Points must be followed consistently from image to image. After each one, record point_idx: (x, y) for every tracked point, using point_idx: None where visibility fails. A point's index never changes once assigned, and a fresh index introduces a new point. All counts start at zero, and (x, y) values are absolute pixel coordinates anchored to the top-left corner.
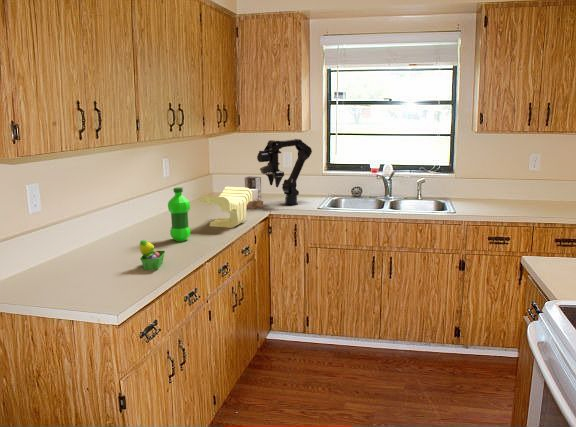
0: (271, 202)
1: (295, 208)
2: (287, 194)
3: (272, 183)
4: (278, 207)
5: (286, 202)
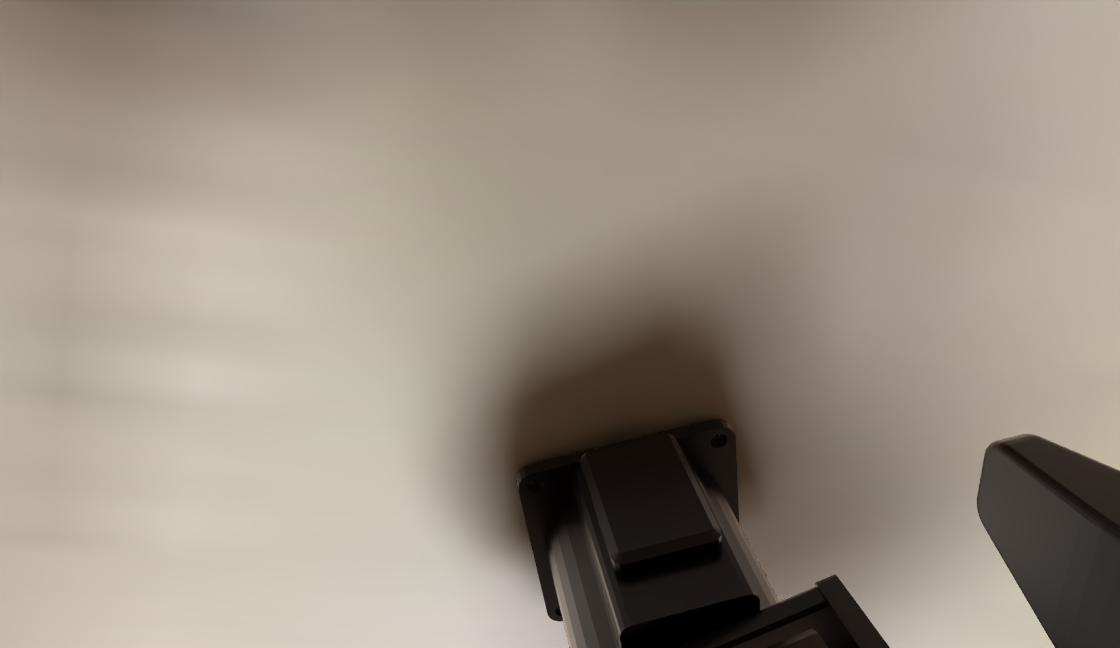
0: (1031, 174)
1: (175, 546)
2: (717, 631)
3: (1039, 613)
4: (368, 232)
5: (614, 467)
